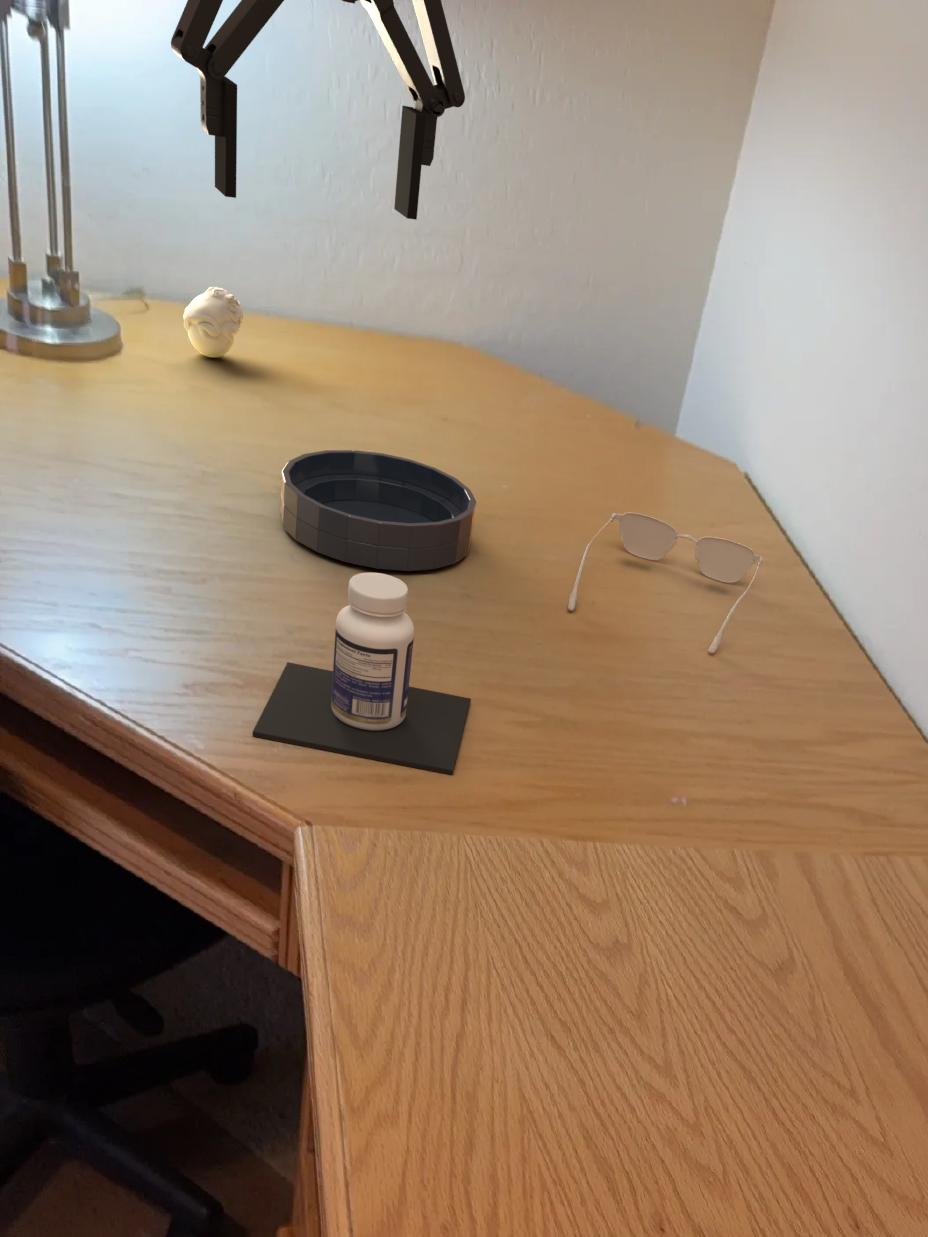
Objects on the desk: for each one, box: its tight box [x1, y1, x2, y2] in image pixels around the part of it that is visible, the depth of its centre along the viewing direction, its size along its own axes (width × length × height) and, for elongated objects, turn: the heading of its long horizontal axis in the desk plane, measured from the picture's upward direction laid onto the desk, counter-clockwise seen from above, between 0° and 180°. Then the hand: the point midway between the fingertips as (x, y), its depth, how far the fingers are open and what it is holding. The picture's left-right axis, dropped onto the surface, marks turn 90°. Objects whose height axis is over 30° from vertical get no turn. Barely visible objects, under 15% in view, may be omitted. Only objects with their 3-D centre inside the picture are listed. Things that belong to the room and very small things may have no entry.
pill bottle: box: [331, 572, 415, 731], centre depth 90 cm, size 5×5×10 cm
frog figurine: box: [182, 286, 244, 358], centre depth 145 cm, size 6×7×7 cm
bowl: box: [279, 449, 477, 572], centre depth 117 cm, size 17×17×4 cm
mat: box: [252, 661, 472, 776], centre depth 93 cm, size 14×11×1 cm
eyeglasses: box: [567, 511, 764, 655], centre depth 119 cm, size 15×18×4 cm
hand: (318, 204), depth 94 cm, fingers open, 13 cm apart
